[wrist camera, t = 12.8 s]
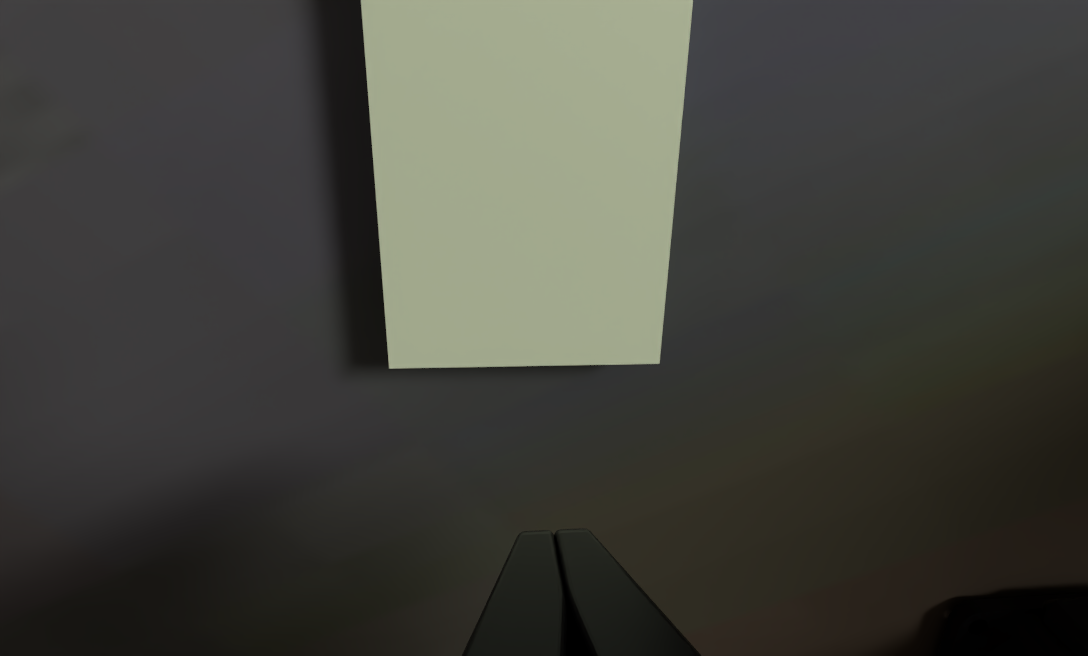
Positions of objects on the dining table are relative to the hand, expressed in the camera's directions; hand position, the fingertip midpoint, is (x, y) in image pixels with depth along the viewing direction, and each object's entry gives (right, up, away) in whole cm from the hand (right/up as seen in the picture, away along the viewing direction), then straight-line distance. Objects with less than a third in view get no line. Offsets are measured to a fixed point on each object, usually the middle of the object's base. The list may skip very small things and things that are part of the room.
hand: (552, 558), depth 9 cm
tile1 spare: (-1, +2, +5) cm, 6 cm away
